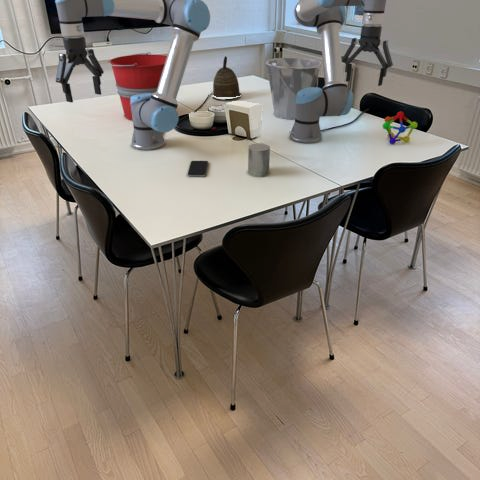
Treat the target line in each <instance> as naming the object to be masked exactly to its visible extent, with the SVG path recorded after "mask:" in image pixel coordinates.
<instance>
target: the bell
mask: <svg viewBox="0 0 480 480" xmlns="http://www.w3.org/2000/svg"><path fill="white" fill-rule="evenodd" d="M227 63H228V57H227V56H224V58H223V63H222V67H221V68H219V69H218V70H217V71H216V73H215V75H214V78H213V81H212V83H213V84H212V90H213V92H212V95H214V96H216V97H236V96H240V95H241V96H242V93H241V92H240V83H239V80H238V79H239V78H238V77H237V75H236V73H235V72H234V70H232V69H231V68H230V67H227Z"/></svg>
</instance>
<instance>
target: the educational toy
mask: <svg viewBox="0 0 480 480" xmlns="http://www.w3.org/2000/svg"><path fill="white" fill-rule="evenodd" d="M397 119H399V124H400V125H399V127H398V126H393V125H391V124H392V123H394V122H395V121H396V120H397ZM403 120H404V121H405V122H407V123H408V124H409V125H407V126H404V123H403ZM417 127H418V122H417V121H411V120H410V119H409V118H408V117H406V116H405V113H404V112H403V111H401V110H400V111H398V112H397V114H396V115H394V116H391V117H390V116H386V117H385V118H384V122H383V123H382V129H383V130H386V132H387V138H388V142H389V145H395V144H396V143H397V142H402V141H403V142H404V143H409V142H410V140H411V138H410V136H411V134H412V132H413V131H414V130H415V129H417ZM392 129H393V130H397V131H398V132H396V134H395V133H394V132H392ZM408 129H409V131H408V133H407V134H406V135H404V136H401V134H403V133H405V132H406V130H408ZM399 135H400V136H399Z"/></svg>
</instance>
